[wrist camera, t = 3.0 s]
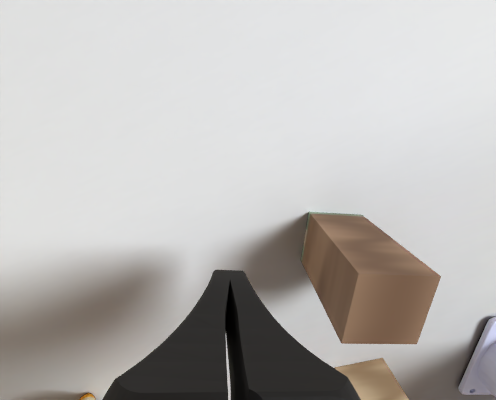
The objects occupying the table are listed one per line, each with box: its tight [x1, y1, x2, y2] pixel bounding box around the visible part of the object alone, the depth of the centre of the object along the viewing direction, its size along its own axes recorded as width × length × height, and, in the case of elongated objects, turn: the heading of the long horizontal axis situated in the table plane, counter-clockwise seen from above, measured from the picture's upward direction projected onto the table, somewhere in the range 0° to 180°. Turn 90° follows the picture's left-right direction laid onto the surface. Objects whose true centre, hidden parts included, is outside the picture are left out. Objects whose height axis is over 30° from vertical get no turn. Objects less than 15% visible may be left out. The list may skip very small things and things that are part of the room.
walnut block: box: [301, 212, 441, 344], centre depth 15 cm, size 4×4×7 cm
